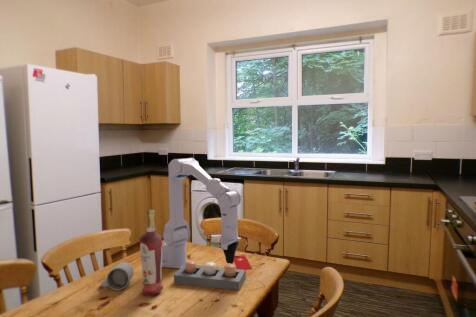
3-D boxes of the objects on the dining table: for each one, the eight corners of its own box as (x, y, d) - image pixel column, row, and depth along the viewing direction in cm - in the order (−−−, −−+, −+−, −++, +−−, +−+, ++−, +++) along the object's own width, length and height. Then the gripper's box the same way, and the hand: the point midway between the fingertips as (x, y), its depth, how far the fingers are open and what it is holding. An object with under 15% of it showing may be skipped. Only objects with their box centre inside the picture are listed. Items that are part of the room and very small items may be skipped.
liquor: (168, 290, 112) (166, 209, 110) (152, 299, 105) (149, 214, 103) (153, 285, 116) (150, 207, 114) (136, 294, 109) (133, 211, 107)
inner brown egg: (183, 272, 119) (183, 264, 119) (188, 267, 123) (187, 260, 123) (193, 273, 118) (193, 265, 118) (198, 268, 122) (197, 261, 122)
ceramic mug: (135, 279, 121) (134, 259, 120) (129, 289, 112) (128, 268, 112) (105, 281, 120) (104, 260, 119) (97, 291, 112) (96, 269, 111)
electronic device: (252, 270, 129) (244, 256, 144) (252, 268, 129) (244, 255, 144) (237, 271, 128) (231, 257, 143) (237, 270, 128) (231, 256, 143)
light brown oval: (223, 276, 116) (223, 267, 115) (226, 271, 119) (226, 263, 119) (234, 277, 115) (234, 268, 114) (237, 272, 118) (236, 264, 118)
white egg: (203, 274, 117) (202, 266, 117) (206, 269, 121) (206, 261, 121) (213, 275, 116) (213, 267, 116) (217, 270, 120) (217, 262, 120)
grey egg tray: (173, 283, 117) (173, 274, 117) (185, 271, 127) (185, 264, 127) (239, 290, 111) (238, 281, 111) (245, 277, 121) (245, 269, 121)
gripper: (235, 231, 108) (235, 271, 109) (245, 220, 122) (245, 256, 123) (214, 230, 110) (215, 270, 110) (227, 219, 124) (227, 254, 125)
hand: (230, 262), depth 117 cm, fingers closed
